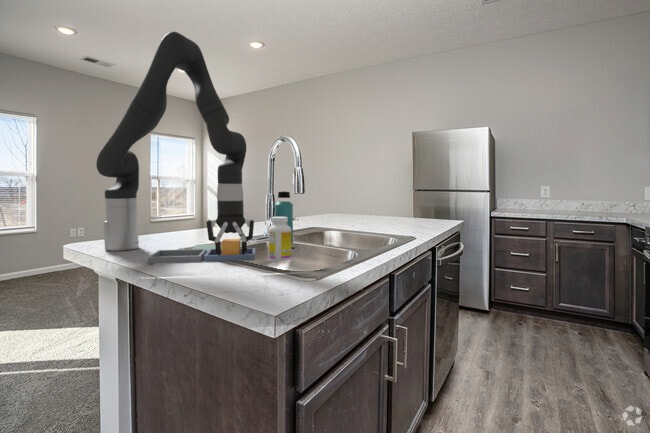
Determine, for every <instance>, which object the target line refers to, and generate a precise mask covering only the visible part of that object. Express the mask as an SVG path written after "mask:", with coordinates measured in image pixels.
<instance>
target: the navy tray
mask: <svg viewBox="0 0 650 433" xmlns="http://www.w3.org/2000/svg"><path fill="white" fill-rule="evenodd" d="M255 257H256V247H247V251H246V252H245V254H242V247H240V255H222V249H221V255H218V253H216V251H215V249H209V250H208V252H207V253H206V254H205V255H204V258H203V262H228V261H229V262H230V261H231V262H232V261H233V262H234V261H236V262H237V261H255V260H256V258H255Z"/></svg>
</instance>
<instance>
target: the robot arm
mask: <svg viewBox="0 0 650 433" xmlns="http://www.w3.org/2000/svg"><path fill="white" fill-rule="evenodd" d="M205 60H206V59H205V58H204V55H203V52H202V50H201V48H200V47H199V45H198V44H197V43H196V42H195V41H194V40H191V39H190V38H187V37H186V36H185V35H183V34H181V33H180V32H178V31H170V32H168V33H166V34H164V36H163V37H162V39H161V40H160V42H159V43H158V46H157V49H156V51H155V53H154V56H153V58H152V61H151V63H150V66H149V68H148V70H147V72H146V74H145V77H144V78H143V80H142V82H141V84H140V86H139V88H138V90H137V91H136V93H135V95H134V96H133V98H132V100H131V102H130V103H129V106H128V108H127V109H126V111H125V113H124V115H123V117H122V118H121V121H120V122H119V124H118V125H117V127H116V128H115V130H114V132H113V133H112V135H111V136H110V138H108V140H107V142H106V143H105V144H104V146H103V147H102V149H101V150H100V152H99V154H98V155H97V157H96V158H97V159H96V165H95V166H96V169H97V171H98V173H99V174H100V175H101V176H103V177H106V178H115V183H114V184H113V185H112V186H110V187H109V188H106V189H105V190H104V202H105V204H104V205H105V220H104V221H103V237H104V238H103V239H104V250H105V251H112V252H113V251H116V252H117V251H118V252H119V251H121V252H122V251H130V250H134V249H135V250H136V249H138V248H139V244H140V243H139V224H138V223H139V222H138V221H139V220H138V202H137V201H138V200H137V198H138V197H137V193H138V191H139V188H140V187H139V185H140V167H139V166H140V164H139V160H138V157H137V155H136V154H135V153H134V152H133V151H131V148H132V147H133V145H134V144H136V143H137V142H138V141H140V140H142V139H143V138H145V137H146V136H147V135H149V134H150V133H151V132H152V131H154V129H156V128H157V127H158V125H159V123H160V121H161V120H162V118H163V116H164V115H165V112H166V110H167V105H168V104H167V103H168V99H167V96H168V95H167V89H168V88H167V86H168V82H169V80H170V78H171V77H172V75H173V73H174V71H175V69H178V70H181V71H183V72H185V74H186V76H188V78H189V79H190V81H191V83H192V84H193V89H194V96H195V97H194V98H195V104H196V107H197V109H198V111H199V114H200V116H201V118H202V119H203V121H204V123H205V125H206V130H207V134H208V139H209V141H210V145H211V146H212V149H213V150H214V151H215V152H216V153H218V154H221V155H225V157H224V162H223V163H221V164H219V165H218V167H217V189H216V191H217V192H216V199H217V200H216V201H217V203H216V204H217V206H216V208H217V218H216V219H212V220H211V219H208V220H207V221H206V230H207V238H208V241H211V242H214V244H215V251H216V253H218V255H221V244H222V243H221V242H222V241H221V239H222V237H223V235H224V233H225V234H231V233H232V234H237V235H238V236H239V237H240V238H239V239H240V240H241V248H242V254H245V252H246V251H247V248H248V241H251V240H253V238H254V227H255V220H254V219H253V218H252V219H246V218H245V217H244V216H245V215H244V189H243V188H244V187H243V167H244V163H245V159H246V153H247V142H246V139H245V137H244V136H243V135H242V134H241V133H240V132H237V131H232V130H230V128H228V125H229V122H230V116H229V113H227V111H226V108H225V106H224V104H223V102H222V101H221V99H220V97H219V95H218V93H217V90H216V89H215V87H214V84H213V81H212V78H211V76H210V73H209V68H208V67H207V63H206V61H205ZM245 224H246V226H247V227H248V235H245V232H244V230H243V228H242V227H243V226H244V225H245ZM216 225H217V226H218V227H219V228H220V229H219V232H218V234H216V236H214V228H215V226H216Z"/></svg>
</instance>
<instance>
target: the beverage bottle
mask: <svg viewBox="0 0 650 433" xmlns="http://www.w3.org/2000/svg"><path fill="white" fill-rule="evenodd" d="M290 193H291V192H290V191H278V192H277V198H278V199H279V198H280V199H291V194H290ZM293 207H294V204H293V203H292V202H291V201H285V200H284V201H282V200H281V201H276V203H274V216H273V217H288V221H287V225H288V226H290V228H291V247H292V246H293V245H294V225H293V224H294V222H293V221H294V208H293Z"/></svg>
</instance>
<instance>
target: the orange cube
mask: <svg viewBox="0 0 650 433" xmlns="http://www.w3.org/2000/svg"><path fill="white" fill-rule="evenodd" d="M220 242H221V244H222V255H240V248H241V238H223V239H222V240H221V241H220Z"/></svg>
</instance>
